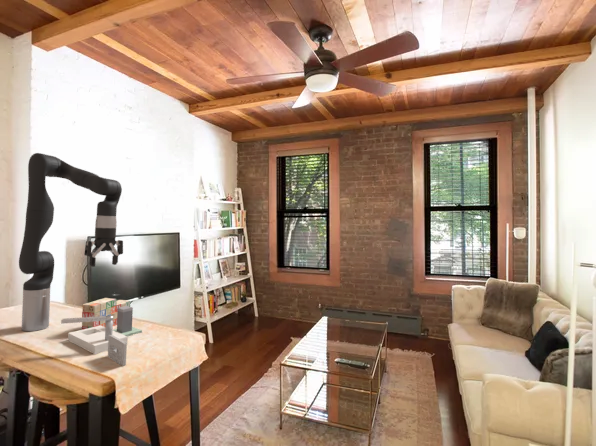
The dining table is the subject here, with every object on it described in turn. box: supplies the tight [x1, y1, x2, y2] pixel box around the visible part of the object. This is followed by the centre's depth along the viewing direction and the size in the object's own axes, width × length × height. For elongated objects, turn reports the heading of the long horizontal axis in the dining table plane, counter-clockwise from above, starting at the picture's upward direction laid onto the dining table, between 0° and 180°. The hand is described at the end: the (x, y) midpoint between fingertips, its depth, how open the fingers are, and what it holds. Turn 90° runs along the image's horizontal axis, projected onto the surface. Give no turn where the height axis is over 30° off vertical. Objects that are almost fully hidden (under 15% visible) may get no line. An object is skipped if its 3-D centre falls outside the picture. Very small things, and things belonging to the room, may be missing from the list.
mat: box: [113, 326, 143, 337], centre depth 138 cm, size 10×10×1 cm
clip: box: [60, 315, 113, 325], centre depth 120 cm, size 16×3×1 cm, turn 112°
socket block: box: [67, 320, 129, 355], centre depth 126 cm, size 21×12×10 cm, turn 58°
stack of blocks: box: [81, 297, 131, 330], centre depth 146 cm, size 21×6×12 cm, turn 168°
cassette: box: [107, 335, 128, 367], centre depth 111 cm, size 12×2×8 cm, turn 53°
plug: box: [116, 306, 134, 333], centre depth 138 cm, size 4×4×10 cm
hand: (103, 265), depth 133 cm, fingers open, 8 cm apart
